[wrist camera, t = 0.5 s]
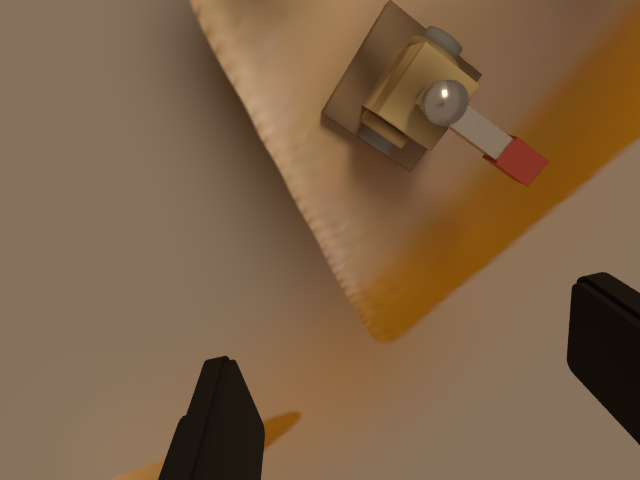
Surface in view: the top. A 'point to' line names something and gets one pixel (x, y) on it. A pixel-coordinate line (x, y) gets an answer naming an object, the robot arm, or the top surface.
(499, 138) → the valve lever
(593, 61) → the top surface
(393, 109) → the valve
